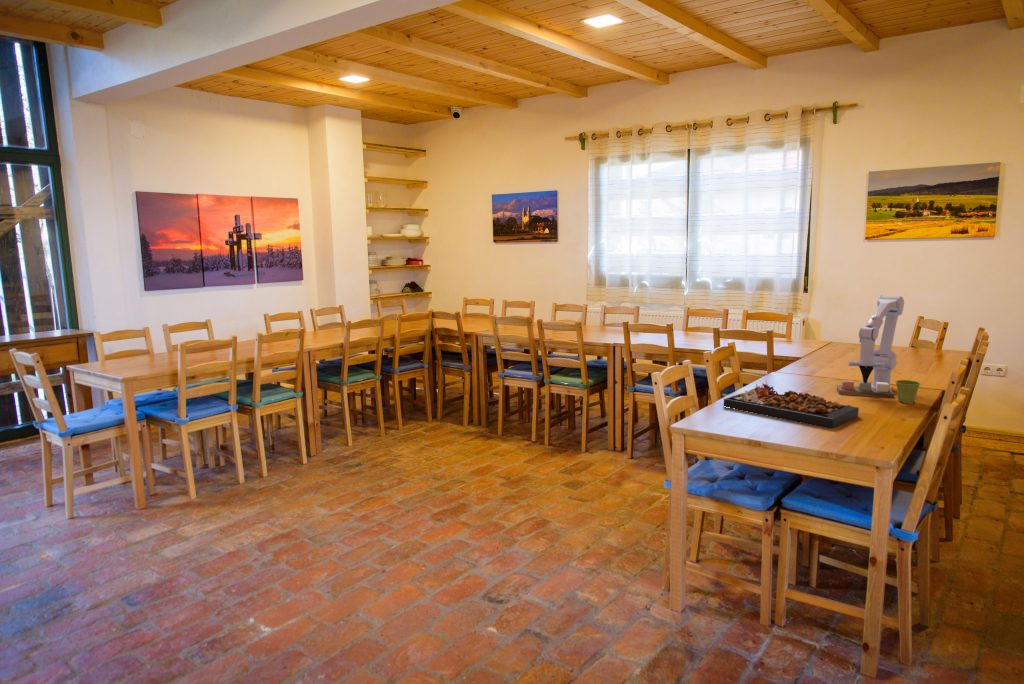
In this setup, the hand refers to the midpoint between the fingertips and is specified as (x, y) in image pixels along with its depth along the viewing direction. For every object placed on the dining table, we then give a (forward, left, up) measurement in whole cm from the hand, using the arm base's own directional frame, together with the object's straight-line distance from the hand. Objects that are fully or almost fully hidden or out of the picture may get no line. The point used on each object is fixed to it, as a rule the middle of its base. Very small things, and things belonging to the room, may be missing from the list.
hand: (865, 382), depth 293 cm
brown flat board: (0, 0, -5) cm, 5 cm away
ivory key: (0, +7, -3) cm, 8 cm away
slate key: (0, 0, -3) cm, 3 cm away
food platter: (+47, -33, -6) cm, 58 cm away
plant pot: (+11, +15, -6) cm, 19 cm away
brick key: (0, -7, -4) cm, 8 cm away
